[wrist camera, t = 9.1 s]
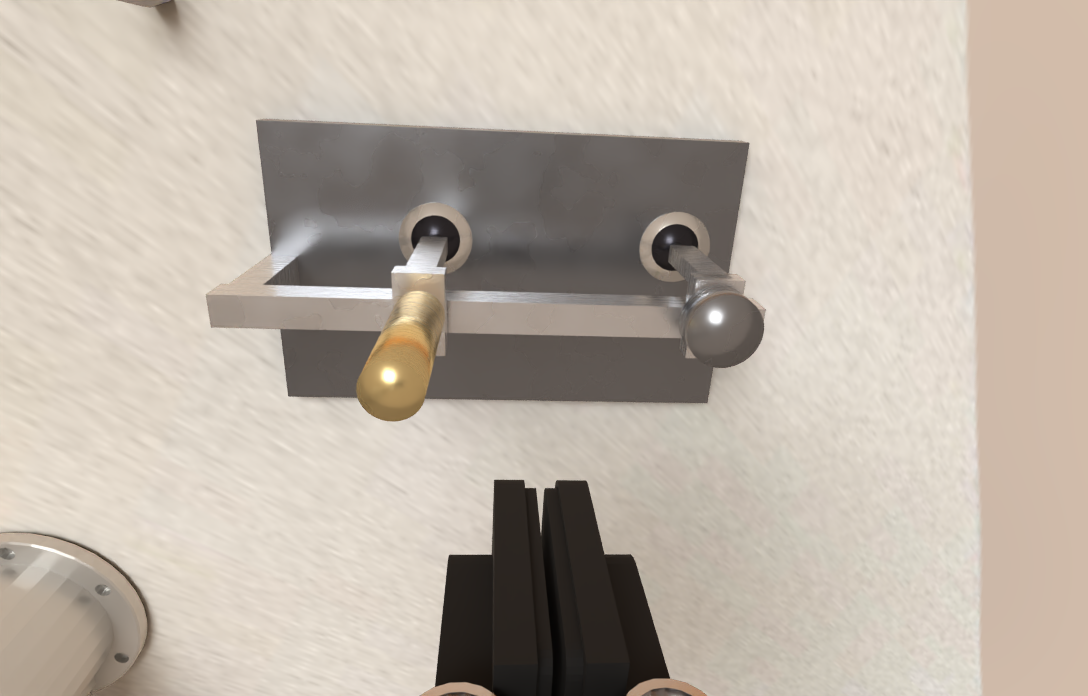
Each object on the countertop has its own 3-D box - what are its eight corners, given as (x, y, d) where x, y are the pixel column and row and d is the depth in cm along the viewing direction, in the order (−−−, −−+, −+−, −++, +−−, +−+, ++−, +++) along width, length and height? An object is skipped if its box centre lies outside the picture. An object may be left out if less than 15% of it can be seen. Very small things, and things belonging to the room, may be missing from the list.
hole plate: (701, 393, 37) (707, 403, 36) (295, 386, 35) (287, 397, 34) (740, 140, 32) (750, 142, 30) (265, 118, 30) (255, 120, 29)
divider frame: (707, 297, 35) (779, 373, 25) (274, 285, 33) (185, 362, 24) (716, 236, 33) (796, 292, 24) (266, 220, 32) (169, 274, 23)
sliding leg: (457, 300, 32) (426, 442, 19) (417, 299, 32) (360, 441, 19) (457, 233, 31) (423, 338, 18) (415, 232, 31) (352, 336, 18)
